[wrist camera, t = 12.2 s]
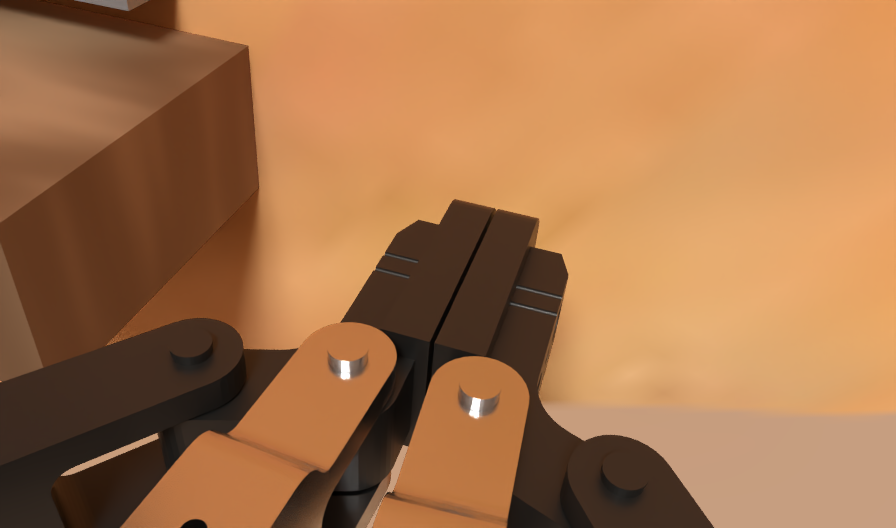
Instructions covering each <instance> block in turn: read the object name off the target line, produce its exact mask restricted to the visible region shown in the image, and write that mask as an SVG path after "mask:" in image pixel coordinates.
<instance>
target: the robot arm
mask: <svg viewBox="0 0 896 528" xmlns="http://www.w3.org/2000/svg"><path fill="white" fill-rule="evenodd" d="M538 227H539V219H538V218H534V217H530V216H525V215H521V214H517V213H513V212H508V211H504V210H500V209H498V210H497V211H496V210H495V208H490V207H486V206H482V205H478V204H473V203H469V202H465V201H460V200H456V199H454V200H453V201H452V203H451V204H450V206H449V208H448V210H447V211H446V213H445V215H444V217H443V219H442V220H441V222H440V224H439V225H438V224H433V223H429V222H425V221H421V220H418V221H416V222H415V223H413V224H411V225H410V226H408V227H407V228H405V229H403V230H402V231H400V232H399V233H397V234H396V236H395V237H394V239H393V241H392V242H391V244H390V245H389V247H388V249H387V250H386V252H385V256H382V258H381V260H380V261H379V263H378V264H377V266H376V269H375V271H373V272H372V274H371V275H370V277H369V278H368V280H367V282H366V283H365V285H364V286H363V288H362V290H361V291H360V293H359V294H358V296H357V297H356V299H355V301H354V302H353V304H352V305H351V307H350V308H349V310H348V312H347V313H346V315H345V316H344V318H343V319H342V321H341V323H336V324H332V325H328V326H326V327H323V328H321V329H319V330H317V331H315V332H314V333H313V334H311V335H310V336H309V337H308V338H307V339H306V340H305V341H304V342H303V344H302V345H301V346H300V347H299V348H297V349H290V350H255V349H244V348H243V342H242V339H241V337H240V335H239V333H238V332H237V331H236V330H235V329H234V328H233V327H231V326H230V325H228V324H226V323H224V322H221V321H218V320H214V319H207V318H194V319H187V320H182V321H178V322H175V323H172V324H169V325H166V326H163V327H160V328H157V329H154V330H152V331H149V332H146V333H143V334H140V335H137V336H134V337H131V338H128V339H125V340H122V341H120V342H117V343H114V344H111V345H108V346H105V347H102V348H99V349H96V350H93V351H90V352H87V353H85V354H82V355H79V356H76V357H73V358H70V359H67V360H64V361H61V362H58V363H55V364H53V365H50V366H47V367H44V368H41V369H38V370H35V371H32V372H29V373H26V374H23V375H20V376H18V377H15V378H12V379H9V380H6V381H3V382H0V528H366V527H367V525H368V523H369V522H370V520H371V518H372V516H373V514H374V512H375V511H376V509H377V507H378V505H379V503H380V502H381V500H382V498H383V496H384V494H385V492H386V490H387V488H388V486H389V484H390V479H391V470H392V468H393V466H394V464H395V462H396V459H397V457H398V455H399V453H400V450H401V448H402V446H403V445H405V446H408V450H407V453H406V456H405V459H404V462H403V465H402V468H401V471H400V474H399V477H398V480H397V483H396V486H395V488H394V490H393V492H392V493H391V492H387V494H386V495H385V496H384V498H383V500H382V503H381V505H380V507H379V510H378V513H377V516H376V519H375V521H374V524H373V527H372V528H714V527H713V525H712V524H711V523H710V521H709V520H708V519H707V517H706V516H705V515H704V513H703V511H701V509H700V507H699V506H698V505H697V503H696V502H695V500H694V499H693V498H692V496H691V495H690V493H689V492H688V491H687V489H686V488H685V487H684V485H683V484H682V482H681V481H680V480H679V478H678V477H677V475H676V474H675V473H674V471H673V470H672V468H671V467H670V466H669V464H668V463H667V462H666V461H665V460H664V458H663V457H662V456H660V455H659V454H658V453H657V452H656V451H654V450H653V449H652V448H650V447H649V446H647V445H645V444H643V443H641V442H639V441H637V440H634V439H632V438H628V437H623V436H618V435H602V436H597V437H593V438H591V439H588V440H586V441H583V440H581V439H580V438H578V437H576V436H575V435H573V434H571V433H569V432H568V431H566V430H565V429H564V428H562V427H561V426H559V425H558V424H557V423H556V422H555V421H554V420H553V419H552V418H551V417H550V416H549V415H548V414H547V412H546V411H545V409H544V408H543V406H542V404H541V401H540V399H539V395H538V394H539V391H540V387H541V384H542V380H543V377H544V373H545V370H546V366H547V362H548V359H549V356H550V352H551V348H552V345H553V341H554V337H555V333H556V328H557V324H558V320H559V315H560V311H561V306H562V302H563V297H564V293H565V288H566V284H567V280H568V272H567V269H566V266H565V263H564V260H563V257H562V254H559V253H555V252H551V251H546V250H542V249H538V248H535V244H536V238H537V233H538ZM155 433H158V437H159V439H157V440H155V441H152V442H150V443H147V444H145V445H142V446H140V447H138V448H135V449H133V450H130V451H128V452H126V453H123V454H121V455H118V456H116V457H114V458H111V459H109V460H106V461H104V462H102V463H99V464H97V465H94V466H92V467H89V468H87V469H85V470H82V471H80V472H77V473H75V474H72V475H68V476H61V474H63V473H64V472H66V471H67V470H69V469H71V468H73V467H75V466H77V465H80V464H82V463H85V462H87V461H89V460H92V459H94V458H97V457H99V456H101V455H104V454H106V453H109V452H111V451H114V450H116V449H119V448H121V447H124V446H126V445H129V444H131V443H133V442H136V441H138V440H140V439H143V438H146V437H148V436H150V435H153V434H155Z"/></svg>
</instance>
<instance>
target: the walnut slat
mask: <svg viewBox="0 0 896 528" xmlns="http://www.w3.org/2000/svg"><path fill="white" fill-rule="evenodd" d="M258 188H259V180H258V167H257V154H256V141H255V128H254V115H253V102H252V89H251V75H250V62H249V49H248V46H247V45H242V44H238V43H233V42H229V41H224V40H219V39H215V38H210V37H206V36H201V35H196V34H192V33H187V32H183V31H178V30H173V29H169V28H164V27H160V26H155V25H150V24H146V23H141V22H136V21H132V20H127V19H123V18H118V17H113V16H109V15H104V14H100V13H95V12H90V11H86V10H81V9H77V8H72V7H67V6H63V5H58V4H54V3H49V2H44V1H40V0H0V381H2V382H3V381H6V380H9V379H12V378H15V377H18V376H20V375H23V374H26V373H29V372H32V371H35V370H38V369H41V368H44V367H47V366H50V365H53V364H55V363H58V362H61V361H64V360H67V359H70V358H73V357H76V356H79V355H82V354H85V353H87V352H90V351H93V350H96V349H99V348H102V347H104V346H105V345H106V344H107V343H108V342H109V341H110V340H111V339H112V338H113V337H114V336H115V335H116V334H117V333H118V332H119V331H120V330H121V329H122V328H123V327H124V326H125V325H126V324H127V323H128V322H129V321H130V320H131V319H132V318H133V317H134V316H135V315H136V314H137V312H138V311H139V310H140V309H141V308H142V307H143V306H144V305H145V304H146V303H147V302H148V301H149V300H150V299H151V298H152V297H153V296H154V295H155V294H156V293H157V292H158V291H159V290H160V289H161V288H162V287H163V286H164V285H165V284H166V283H167V282H168V281H169V280H170V279H171V278H172V276H173V275H174V274H175V273H176V272H177V271H178V270H179V269H180V268H181V267H182V266H183V265H184V264H185V263H186V262H187V261H188V260H189V259H190V258H191V257H192V256H193V255H194V254H195V253H196V252H197V251H198V250H199V249H200V248H201V247H202V246H203V245H204V244H205V243H206V242H207V241H208V239H209V238H210V237H211V236H212V235H213V234H214V233H215V232H216V231H217V230H218V229H219V228H220V227H221V226H222V225H223V224H224V223H225V222H226V221H227V220H228V219H229V218H230V217H231V216H232V215H233V214H234V213H235V212H236V211H237V210H238V209H239V208H240V207H241V206H242V205H243V203H244V202H245V201H246V200H247V199H248V198H249V197H250V196H251V195H252V194H253V193H254V192H255V191H256V190H257V189H258Z"/></svg>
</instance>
